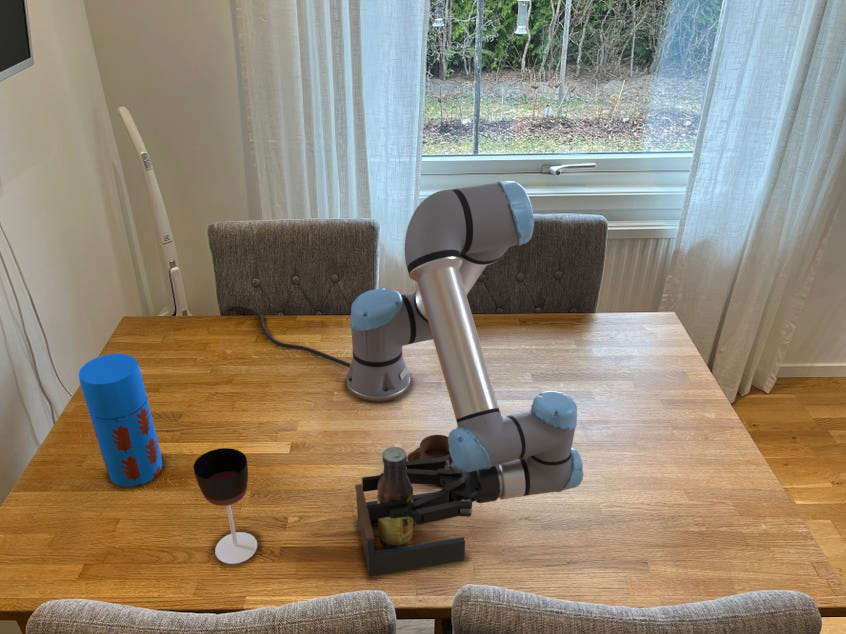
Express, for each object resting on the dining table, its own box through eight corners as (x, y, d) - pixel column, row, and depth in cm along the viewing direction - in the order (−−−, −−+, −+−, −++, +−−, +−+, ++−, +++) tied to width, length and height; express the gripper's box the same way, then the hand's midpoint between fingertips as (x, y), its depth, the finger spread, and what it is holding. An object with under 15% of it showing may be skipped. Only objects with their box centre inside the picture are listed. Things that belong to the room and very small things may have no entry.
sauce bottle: (409, 555, 126) (409, 471, 115) (374, 550, 128) (371, 466, 117) (416, 527, 132) (416, 445, 121) (383, 523, 133) (380, 440, 122)
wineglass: (214, 532, 133) (197, 449, 122) (262, 529, 133) (249, 446, 123) (208, 566, 126) (189, 481, 115) (258, 562, 127) (244, 478, 116)
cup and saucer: (426, 497, 140) (426, 473, 137) (398, 461, 149) (397, 438, 146) (478, 477, 145) (479, 454, 142) (447, 443, 154) (448, 421, 151)
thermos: (173, 458, 151) (150, 358, 137) (142, 492, 142) (114, 389, 129) (130, 448, 154) (103, 349, 140) (97, 480, 145) (64, 378, 132)
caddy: (445, 508, 138) (446, 471, 132) (464, 561, 127) (466, 522, 122) (357, 522, 135) (355, 484, 130) (368, 577, 124) (367, 538, 119)
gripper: (511, 533, 121) (376, 555, 117) (478, 460, 137) (358, 477, 133) (514, 500, 117) (374, 522, 113) (480, 429, 133) (356, 446, 129)
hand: (366, 498), depth 123 cm, fingers closed on sauce bottle, 6 cm apart
